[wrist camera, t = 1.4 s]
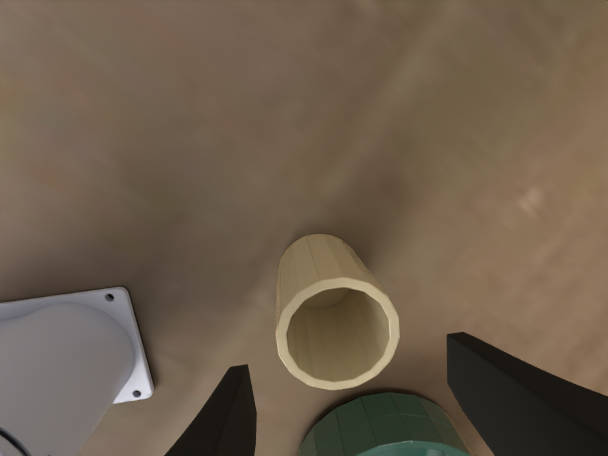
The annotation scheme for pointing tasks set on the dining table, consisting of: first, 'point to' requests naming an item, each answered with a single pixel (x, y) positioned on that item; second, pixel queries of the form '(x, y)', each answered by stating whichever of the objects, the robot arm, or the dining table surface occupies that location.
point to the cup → (332, 315)
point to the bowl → (387, 429)
